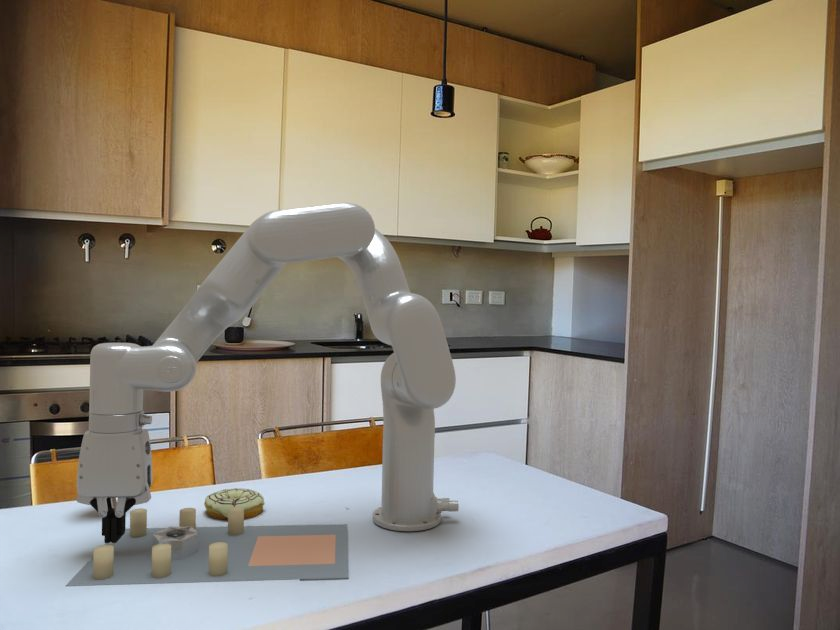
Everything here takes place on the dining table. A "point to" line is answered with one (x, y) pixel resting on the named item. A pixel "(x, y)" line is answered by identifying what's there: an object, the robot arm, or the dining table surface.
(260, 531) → the spacer board
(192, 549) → the hex nut
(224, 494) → the decorated donut
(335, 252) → the robot arm
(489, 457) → the dining table surface
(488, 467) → the dining table surface
